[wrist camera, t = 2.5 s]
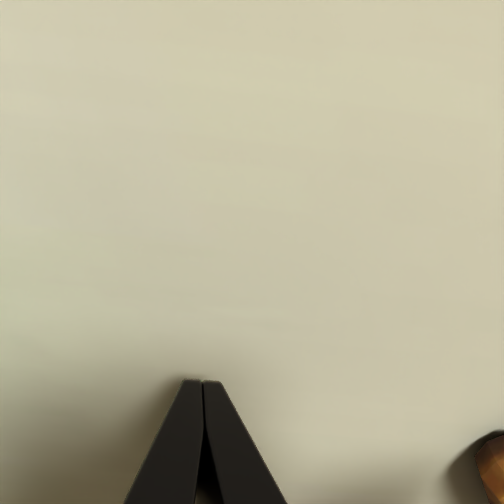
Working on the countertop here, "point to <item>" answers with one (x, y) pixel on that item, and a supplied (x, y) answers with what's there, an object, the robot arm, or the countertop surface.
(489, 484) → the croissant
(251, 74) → the countertop surface
